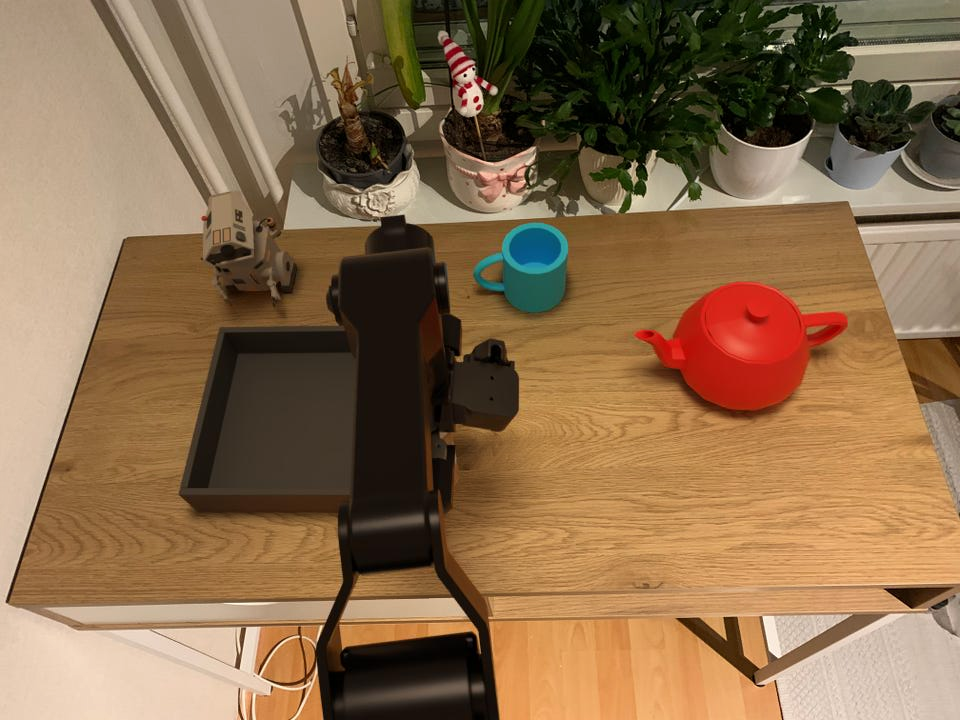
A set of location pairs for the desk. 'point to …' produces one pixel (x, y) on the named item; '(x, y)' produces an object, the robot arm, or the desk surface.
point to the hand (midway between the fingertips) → (432, 447)
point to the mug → (530, 267)
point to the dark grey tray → (274, 422)
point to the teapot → (744, 345)
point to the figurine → (243, 248)
